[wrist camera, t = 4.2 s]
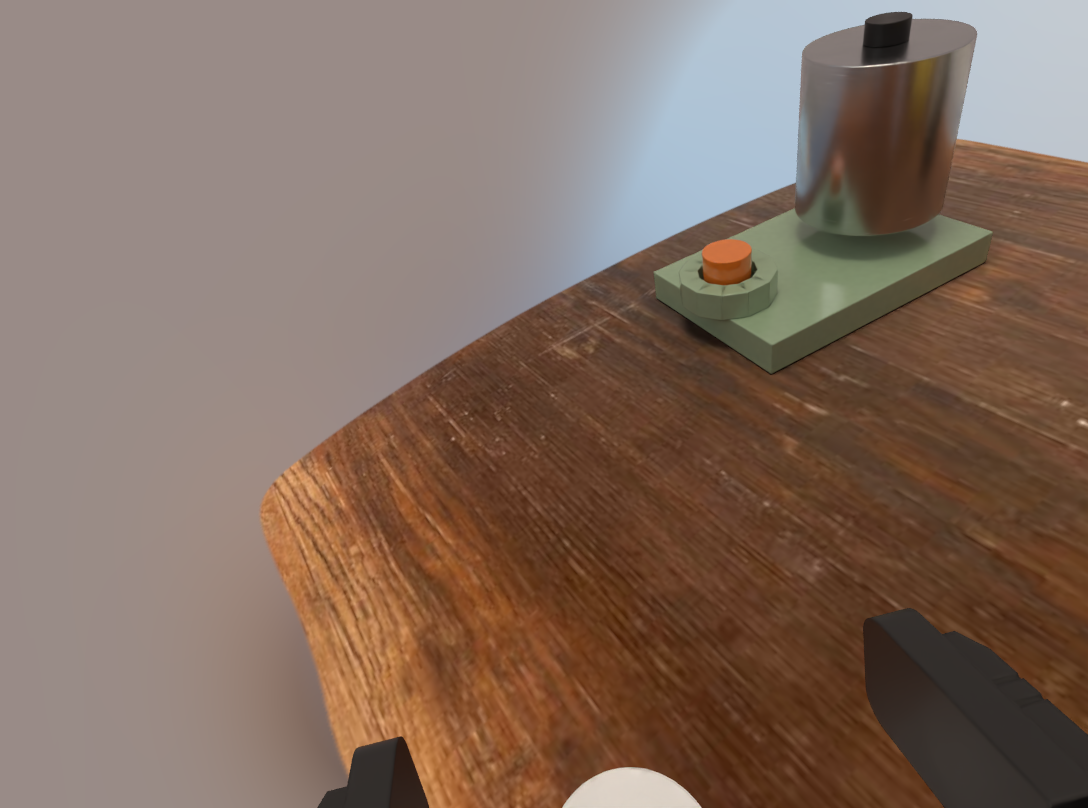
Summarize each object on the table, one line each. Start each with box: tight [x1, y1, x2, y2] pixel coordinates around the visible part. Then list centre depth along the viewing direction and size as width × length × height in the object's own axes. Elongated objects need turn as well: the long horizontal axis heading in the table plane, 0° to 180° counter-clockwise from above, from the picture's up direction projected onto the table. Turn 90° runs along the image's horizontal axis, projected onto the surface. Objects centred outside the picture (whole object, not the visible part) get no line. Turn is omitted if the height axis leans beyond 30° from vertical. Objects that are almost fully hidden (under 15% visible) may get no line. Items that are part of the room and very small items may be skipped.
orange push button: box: [702, 239, 752, 285], centre depth 41 cm, size 3×3×2 cm
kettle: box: [795, 12, 977, 236], centre depth 40 cm, size 9×9×11 cm
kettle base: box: [654, 208, 993, 374], centre depth 44 cm, size 19×12×4 cm, turn 117°
